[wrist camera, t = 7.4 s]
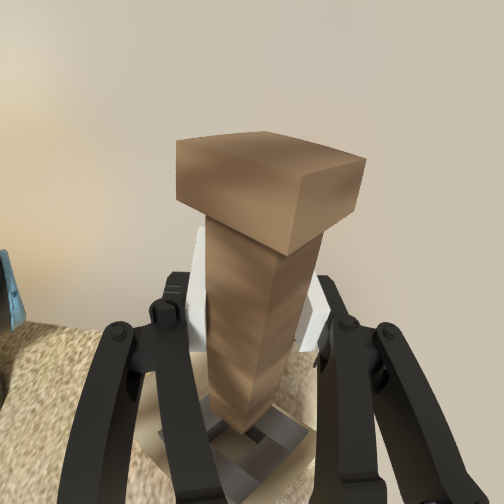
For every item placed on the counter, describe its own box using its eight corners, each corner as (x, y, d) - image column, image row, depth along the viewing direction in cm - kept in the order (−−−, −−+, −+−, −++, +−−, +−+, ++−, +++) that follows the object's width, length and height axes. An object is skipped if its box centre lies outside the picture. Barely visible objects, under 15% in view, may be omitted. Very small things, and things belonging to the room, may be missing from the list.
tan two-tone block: (128, 432, 31) (94, 385, 23) (200, 381, 40) (195, 323, 33) (235, 531, 20) (241, 536, 12) (305, 461, 30) (340, 426, 22)
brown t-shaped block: (195, 407, 17) (176, 140, 8) (238, 373, 20) (265, 131, 11) (243, 447, 15) (301, 175, 6) (283, 407, 18) (366, 158, 9)
